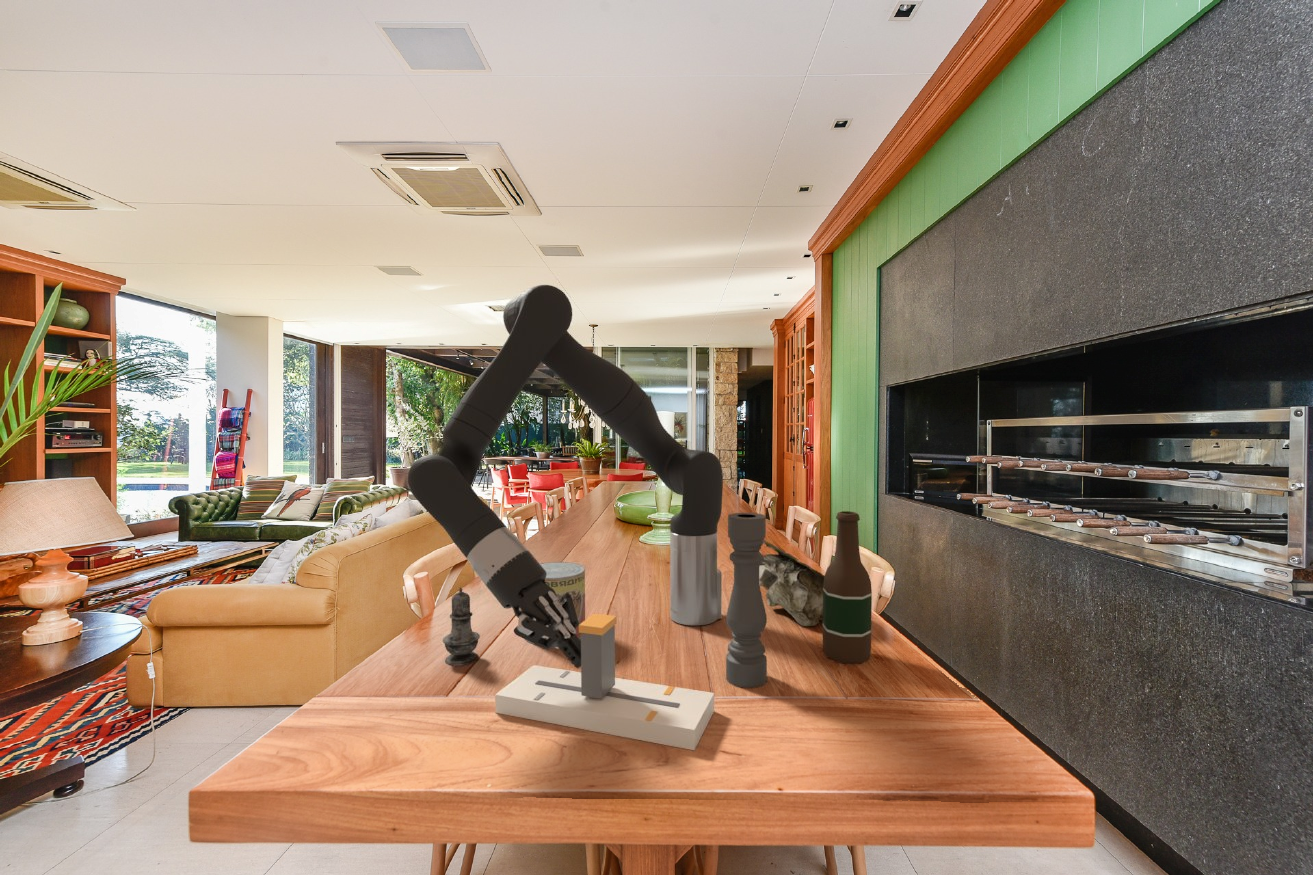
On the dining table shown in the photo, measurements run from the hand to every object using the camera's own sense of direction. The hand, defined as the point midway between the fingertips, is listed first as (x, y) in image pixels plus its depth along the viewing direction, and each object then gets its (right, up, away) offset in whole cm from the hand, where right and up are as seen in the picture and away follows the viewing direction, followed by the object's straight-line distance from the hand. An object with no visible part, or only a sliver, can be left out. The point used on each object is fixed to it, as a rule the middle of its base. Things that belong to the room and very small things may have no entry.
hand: (584, 662), depth 82 cm
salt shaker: (-22, -6, +17) cm, 29 cm away
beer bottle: (+42, -6, +18) cm, 46 cm away
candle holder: (+24, -6, +9) cm, 26 cm away
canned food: (-9, -6, +28) cm, 30 cm away
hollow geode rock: (+39, -5, +43) cm, 59 cm away
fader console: (+3, -6, -1) cm, 7 cm away
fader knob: (+2, -4, -1) cm, 4 cm away
